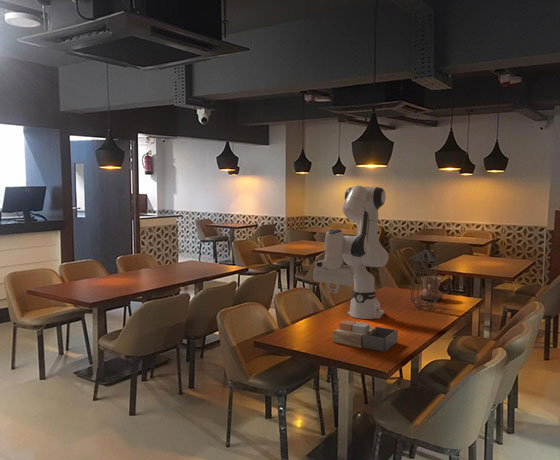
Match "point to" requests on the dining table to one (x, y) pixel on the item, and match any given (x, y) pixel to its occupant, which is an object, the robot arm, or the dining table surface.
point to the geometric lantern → (427, 277)
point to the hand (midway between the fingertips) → (333, 292)
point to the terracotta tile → (346, 325)
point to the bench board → (349, 337)
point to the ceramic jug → (424, 292)
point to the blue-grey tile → (361, 328)
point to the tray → (380, 339)
